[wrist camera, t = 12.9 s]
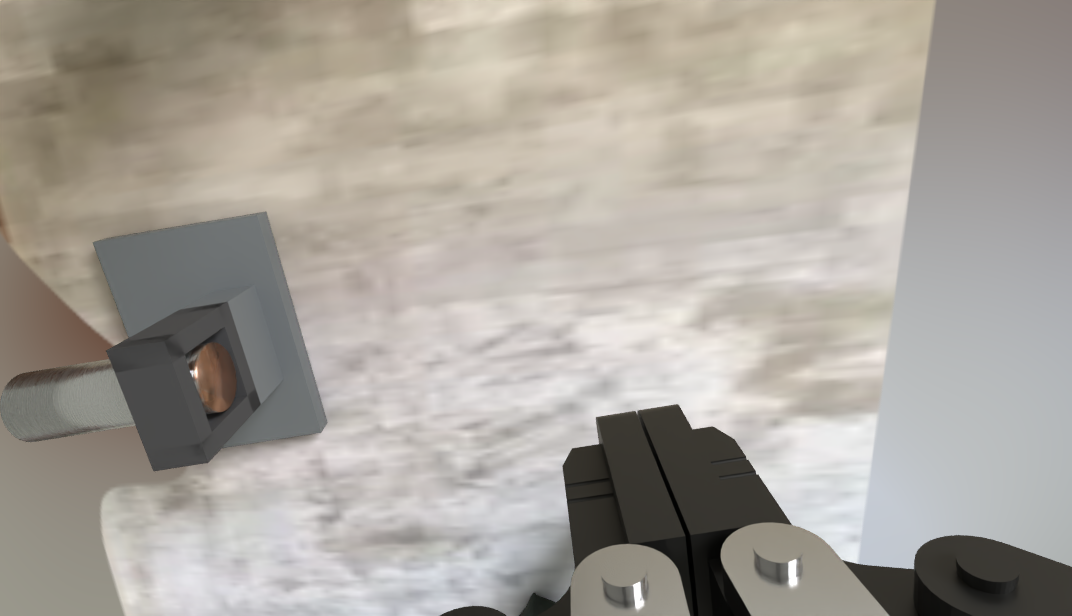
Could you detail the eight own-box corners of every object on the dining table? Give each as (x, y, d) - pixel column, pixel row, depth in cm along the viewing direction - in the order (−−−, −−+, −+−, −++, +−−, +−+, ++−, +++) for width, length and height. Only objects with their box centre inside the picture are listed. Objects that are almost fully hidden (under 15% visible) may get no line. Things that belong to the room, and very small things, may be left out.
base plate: (107, 238, 42) (47, 255, 36) (266, 211, 41) (229, 225, 36) (184, 445, 46) (141, 487, 41) (327, 422, 46) (302, 461, 41)
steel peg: (43, 361, 37) (-12, 390, 33) (223, 332, 36) (188, 357, 33) (69, 421, 38) (18, 455, 34) (243, 393, 38) (212, 424, 34)
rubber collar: (179, 309, 38) (106, 350, 31) (227, 301, 37) (164, 341, 31) (215, 411, 40) (153, 471, 33) (261, 404, 40) (208, 462, 33)
